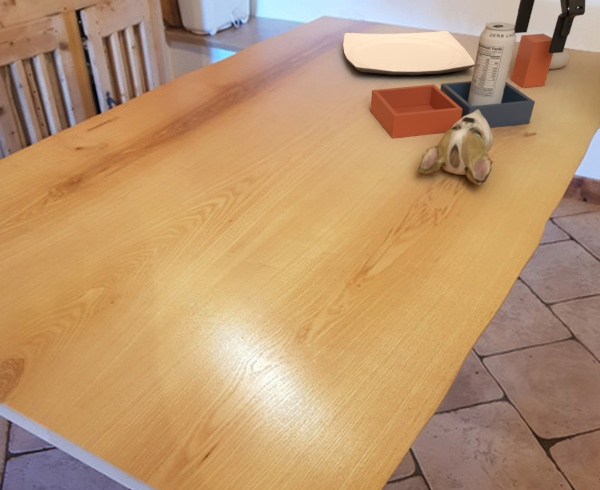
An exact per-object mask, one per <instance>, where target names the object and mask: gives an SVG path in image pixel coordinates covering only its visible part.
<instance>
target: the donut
mask: <svg viewBox="0 0 600 490" xmlns="http://www.w3.org/2000/svg"><path fill="white" fill-rule="evenodd" d="M570 59H571V54H570V52H569V50H567V49H566V48H565V47H564V50H563V52H561V53H553V56H552V60H551V63H550V67H549V70H557V69H561V68H563V67H565V66H567V65H568V64H569V62H570Z"/></svg>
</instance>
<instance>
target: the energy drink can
mask: <svg viewBox="0 0 600 490" xmlns="http://www.w3.org/2000/svg"><path fill="white" fill-rule="evenodd" d="M514 28H515V24H513V23H511V22H508V21H507V22H506V21H489V22H487V23H486V24H485V27H484V29H483V30H482V31H481V33H480V35H479V40H478V45H477V51H476V55H475V61H474V63H475V66H474V67H473V72H472V77H471V81H472V82H471V87H470V92H469V98H468V103H469V104H470V105H471V106H479V105H489V104H499V103H501V101H502V97H503V92H504V88H505V84H506V82H507V79H508V76H509V70H510V66H511V61H512V57H513V53H514V48H515V44H516V40H517V33H515V31H514Z"/></svg>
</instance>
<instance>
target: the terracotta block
mask: <svg viewBox="0 0 600 490" xmlns="http://www.w3.org/2000/svg"><path fill="white" fill-rule="evenodd" d="M551 40H552V37H551V36H549V35H547V34H545V33H533V34H524V35H523V34H522V35H521V36H520V41H519V45H518V48H517V53H516V57H515V62H514V65H513V69H512V74H511V78H510V81H512V82H513V83H515V85H518V86H519V87H521V88H522V89H524V88H526V89H527V88H535V87H544V86H545V85H546V81H547V77H548V74H549V70H550V69H549V67H550V63H551V60H552V56H553V53H549V52H548V51H549V47H550V44H551Z"/></svg>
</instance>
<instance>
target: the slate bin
mask: <svg viewBox="0 0 600 490" xmlns="http://www.w3.org/2000/svg"><path fill="white" fill-rule="evenodd" d="M471 82H472V80H466V81H456V82H454V81H453V82H443V83H440V88H439V89H440V90H441V91H442V92H444V93H445V94H446V95H447V96H448V97H449V98H451V99H452V100H453V101H454V102H455V103H456V104H457V105H459V106H460V107H461V108H462V115H461V118H462V117H464V116H466V115H468V114H471V113H473V112H474V111H476V110H477V109H479V110H480V112H481V114H482V116H483V117H484V118H485V119H486V120H487V123H488V124H489V126H490V129H491V128H500V127H510V126H519V125H529V124H530V121H531V118H532V114H533V111H534V107H535V103H536V101H535V100H534V99H532V98H530V97H529V96H527V95H526V94H524V93H523V92H522V91H520V90H519V89H518V88H515V87H514V86H513V85H512V84H510V83H509V82H507V81H506V84H505V88H504V92H503V97H502V101H501V103H499V104H489V105H479V106H471V105H470V104H469V103H468V98H469V92H470V87H471Z"/></svg>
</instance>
